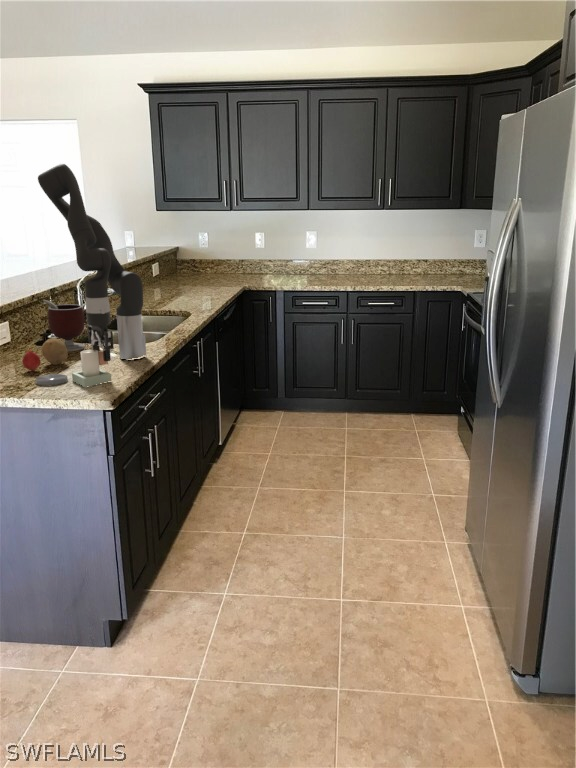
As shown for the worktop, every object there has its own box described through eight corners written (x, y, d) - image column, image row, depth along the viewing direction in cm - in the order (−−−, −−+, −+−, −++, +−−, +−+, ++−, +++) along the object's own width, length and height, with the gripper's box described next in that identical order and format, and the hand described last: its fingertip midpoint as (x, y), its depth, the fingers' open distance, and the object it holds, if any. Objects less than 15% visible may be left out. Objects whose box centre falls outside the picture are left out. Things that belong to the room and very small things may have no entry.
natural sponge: (42, 362, 223) (39, 336, 220) (67, 360, 227) (64, 334, 224) (43, 368, 215) (40, 341, 212) (69, 366, 219) (66, 339, 216)
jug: (87, 385, 196) (85, 354, 193) (80, 381, 200) (77, 351, 197) (111, 380, 202) (109, 350, 199) (104, 377, 206) (101, 347, 203)
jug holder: (98, 376, 207) (98, 368, 206) (111, 382, 200) (110, 373, 199) (72, 381, 200) (71, 372, 199) (85, 387, 194) (84, 378, 193)
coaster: (60, 375, 207) (60, 372, 206) (72, 382, 200) (72, 378, 199) (31, 381, 200) (30, 377, 200) (42, 387, 193) (42, 384, 193)
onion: (23, 374, 208) (21, 351, 206) (23, 369, 213) (21, 348, 211) (41, 372, 210) (39, 350, 208) (41, 368, 215) (38, 346, 213)
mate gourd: (91, 344, 252) (87, 297, 246) (81, 352, 239) (76, 302, 233) (54, 343, 252) (49, 296, 246) (42, 351, 239) (36, 302, 233)
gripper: (77, 308, 199) (82, 356, 203) (97, 314, 189) (101, 364, 193) (98, 306, 203) (102, 353, 208) (119, 312, 193) (122, 361, 198)
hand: (102, 358), depth 201 cm, fingers open, 7 cm apart
